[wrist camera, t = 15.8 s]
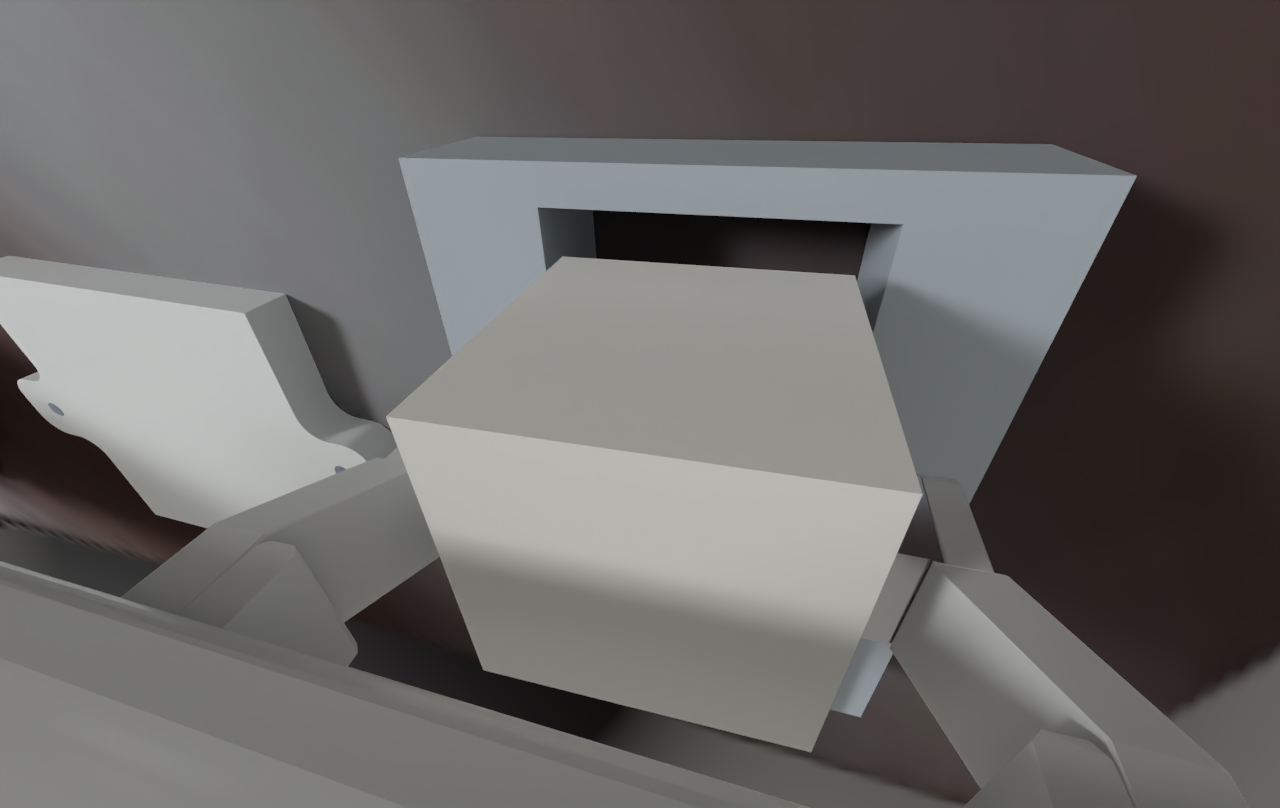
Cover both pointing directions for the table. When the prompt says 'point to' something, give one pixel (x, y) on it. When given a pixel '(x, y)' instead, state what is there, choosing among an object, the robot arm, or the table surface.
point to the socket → (824, 191)
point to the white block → (668, 488)
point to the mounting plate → (181, 385)
